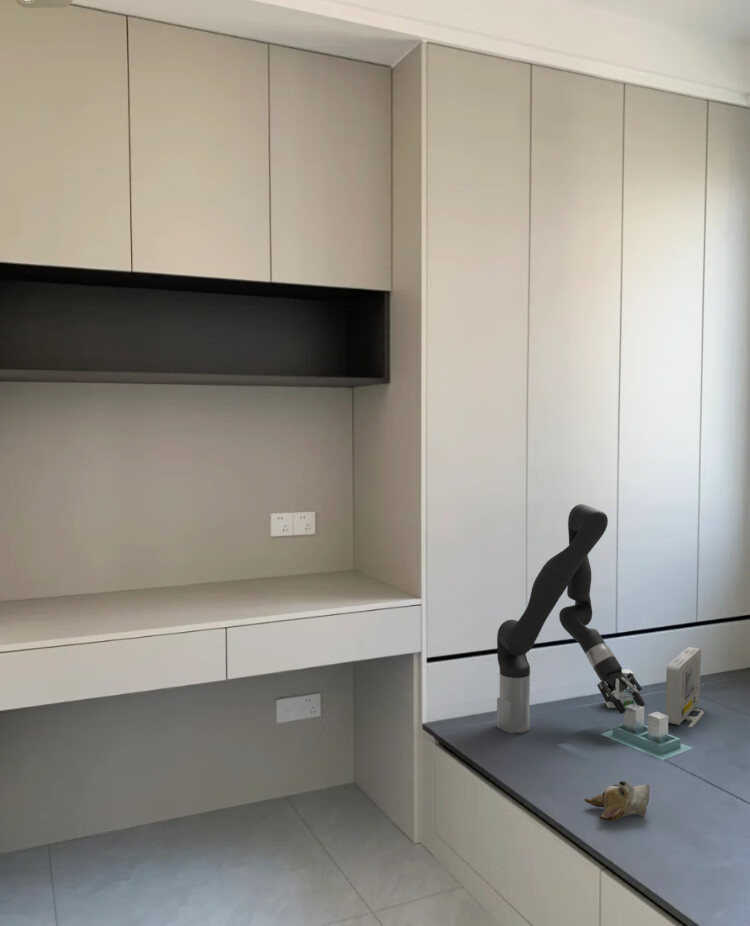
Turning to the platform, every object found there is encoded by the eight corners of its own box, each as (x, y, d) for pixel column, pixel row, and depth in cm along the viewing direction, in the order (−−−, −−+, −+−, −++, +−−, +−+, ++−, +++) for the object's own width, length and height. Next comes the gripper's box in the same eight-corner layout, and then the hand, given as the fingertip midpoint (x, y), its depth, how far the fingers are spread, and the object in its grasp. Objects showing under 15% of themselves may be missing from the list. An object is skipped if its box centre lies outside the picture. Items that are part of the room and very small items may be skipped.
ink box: (631, 703, 280) (631, 668, 279) (634, 708, 275) (634, 673, 274) (604, 702, 280) (605, 667, 280) (607, 707, 276) (607, 672, 275)
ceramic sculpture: (659, 787, 199) (599, 795, 197) (660, 822, 200) (600, 831, 198) (639, 768, 210) (582, 776, 208) (640, 802, 210) (583, 809, 209)
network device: (680, 703, 279) (682, 644, 278) (708, 709, 274) (709, 649, 273) (657, 727, 259) (659, 664, 257) (686, 734, 254) (688, 669, 252)
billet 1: (635, 740, 245) (635, 710, 245) (624, 735, 249) (624, 706, 248) (643, 737, 248) (644, 707, 247) (632, 732, 251) (633, 703, 250)
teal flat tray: (662, 765, 232) (662, 751, 232) (600, 739, 250) (600, 726, 250) (693, 753, 240) (693, 739, 240) (630, 728, 258) (630, 716, 258)
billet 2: (658, 749, 239) (659, 718, 238) (647, 744, 242) (647, 714, 241) (667, 746, 241) (668, 715, 240) (655, 741, 244) (656, 711, 244)
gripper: (594, 659, 250) (625, 708, 242) (625, 651, 258) (656, 698, 250) (580, 672, 255) (609, 720, 246) (611, 663, 263) (641, 710, 254)
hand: (633, 709), depth 248 cm, fingers open, 8 cm apart
